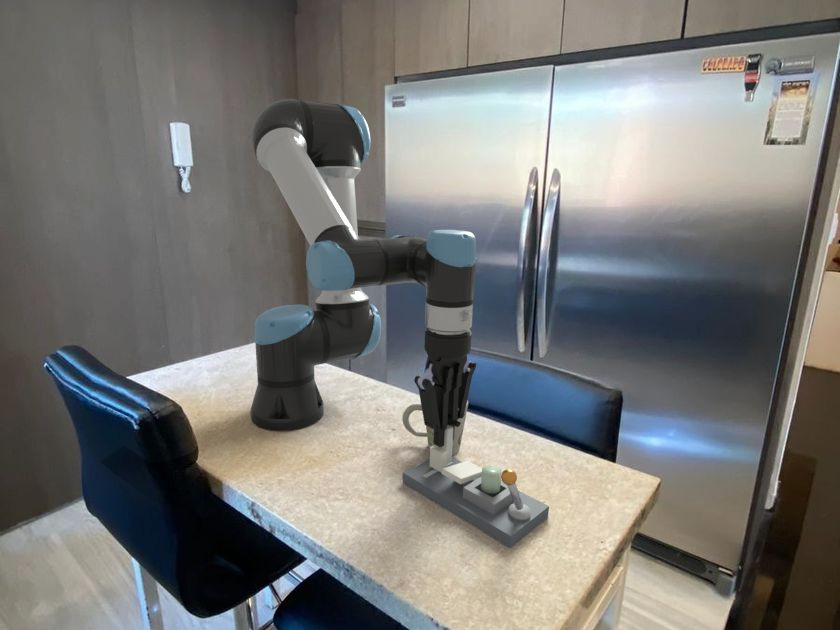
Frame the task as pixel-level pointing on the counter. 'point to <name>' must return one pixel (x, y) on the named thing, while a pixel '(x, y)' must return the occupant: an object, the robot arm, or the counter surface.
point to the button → (491, 479)
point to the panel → (478, 503)
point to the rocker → (462, 472)
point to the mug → (430, 431)
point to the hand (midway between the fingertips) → (443, 460)
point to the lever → (512, 487)
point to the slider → (438, 458)
